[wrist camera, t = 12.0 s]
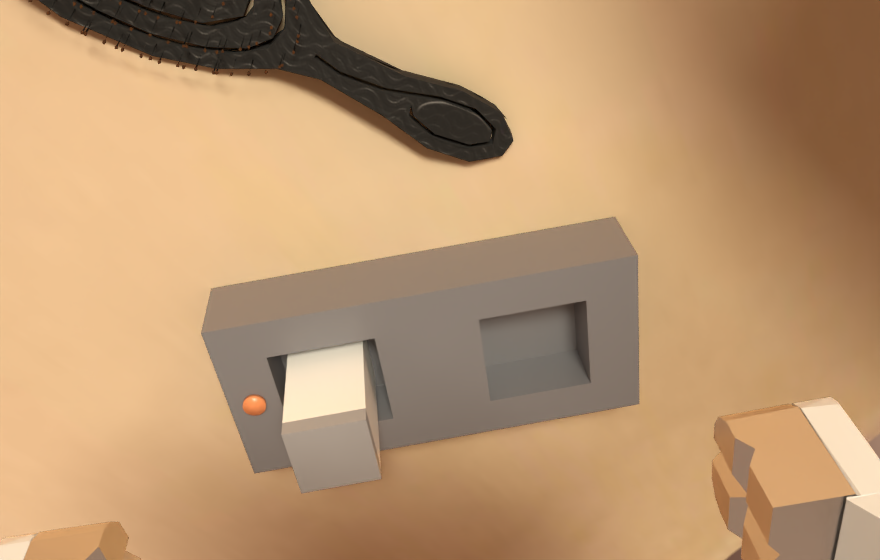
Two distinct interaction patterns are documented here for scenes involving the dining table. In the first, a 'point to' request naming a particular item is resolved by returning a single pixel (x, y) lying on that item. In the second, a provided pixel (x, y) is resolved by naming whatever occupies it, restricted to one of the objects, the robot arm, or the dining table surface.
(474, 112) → the hairbrush
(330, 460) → the plug
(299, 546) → the dining table surface
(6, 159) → the dining table surface
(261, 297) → the power strip
